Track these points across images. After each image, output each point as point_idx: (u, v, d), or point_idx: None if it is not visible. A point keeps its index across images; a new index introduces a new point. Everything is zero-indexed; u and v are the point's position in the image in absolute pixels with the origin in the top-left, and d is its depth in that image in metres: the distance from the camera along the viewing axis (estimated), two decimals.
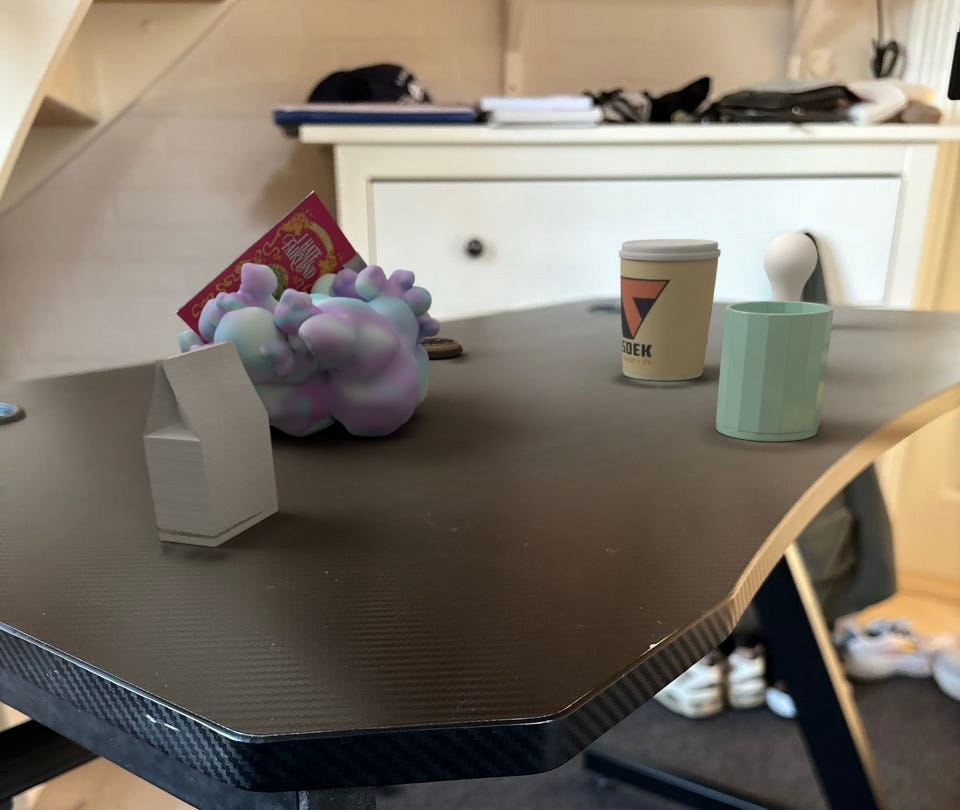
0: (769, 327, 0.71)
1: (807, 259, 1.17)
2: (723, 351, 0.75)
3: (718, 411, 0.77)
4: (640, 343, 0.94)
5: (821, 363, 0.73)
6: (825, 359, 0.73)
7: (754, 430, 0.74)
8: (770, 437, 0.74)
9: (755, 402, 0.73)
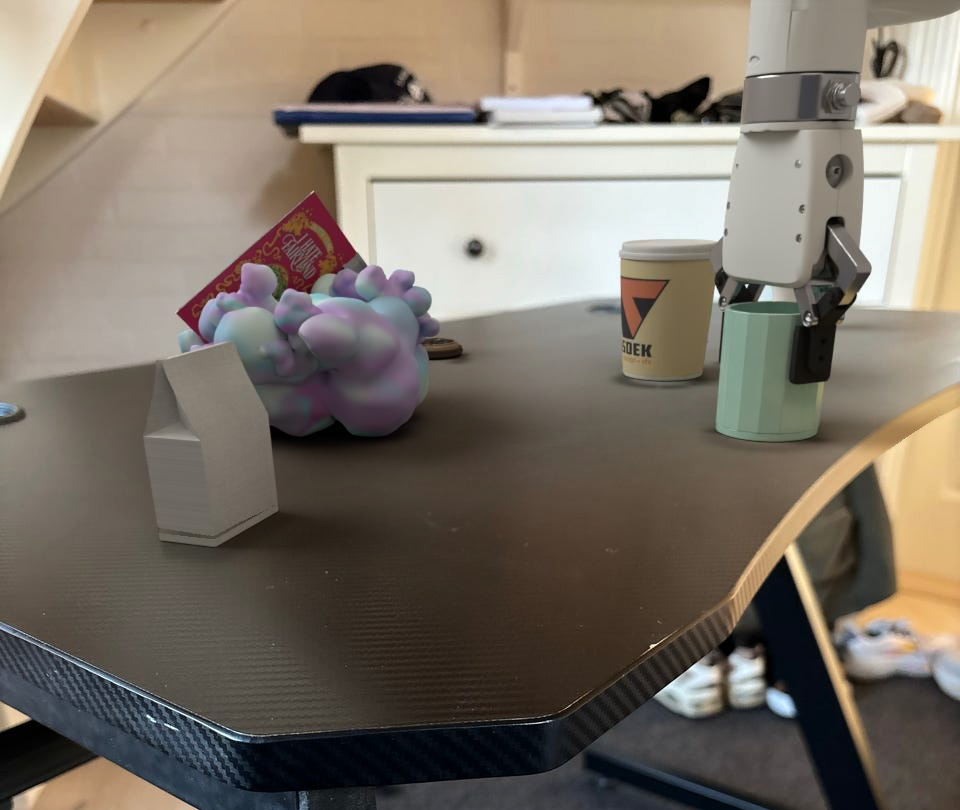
0: (769, 327, 0.71)
1: None
2: (723, 351, 0.75)
3: (718, 411, 0.77)
4: (640, 343, 0.94)
5: None
6: None
7: (754, 430, 0.74)
8: (770, 437, 0.74)
9: (755, 402, 0.73)
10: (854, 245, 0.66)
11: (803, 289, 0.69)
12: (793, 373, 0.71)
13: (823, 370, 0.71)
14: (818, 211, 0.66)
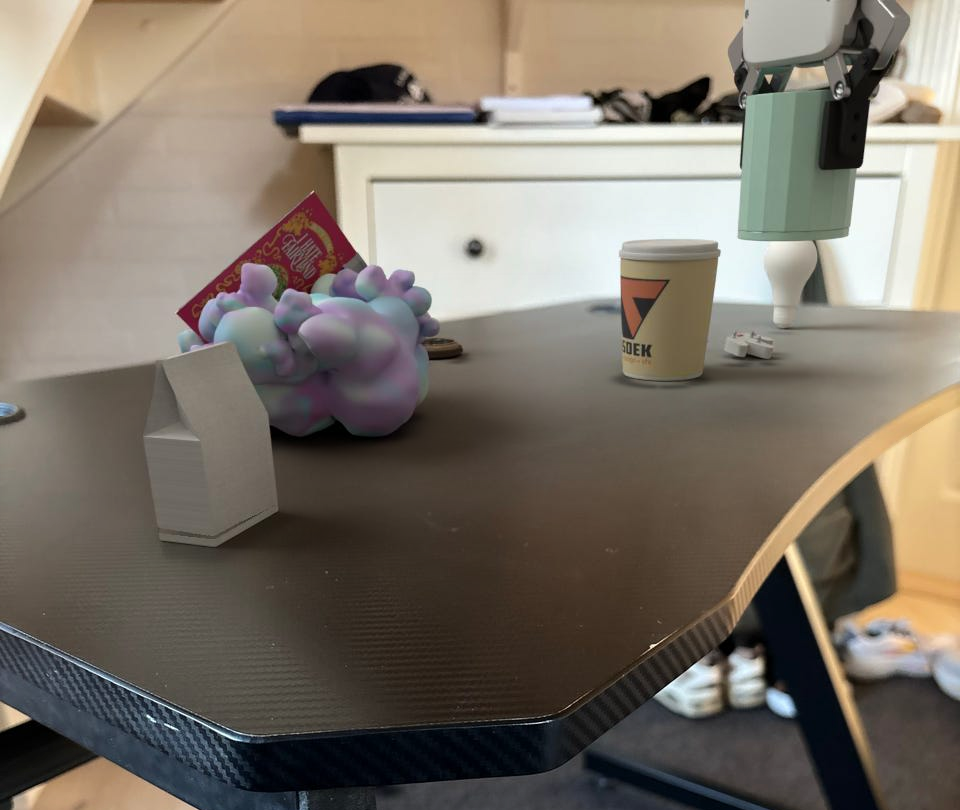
0: (796, 107, 0.65)
1: (807, 259, 1.17)
2: (745, 145, 0.69)
3: (740, 216, 0.71)
4: (640, 343, 0.94)
5: None
6: None
7: (780, 229, 0.68)
8: (798, 236, 0.68)
9: (781, 196, 0.67)
10: None
11: (834, 57, 0.63)
12: (823, 156, 0.65)
13: (856, 152, 0.65)
14: None
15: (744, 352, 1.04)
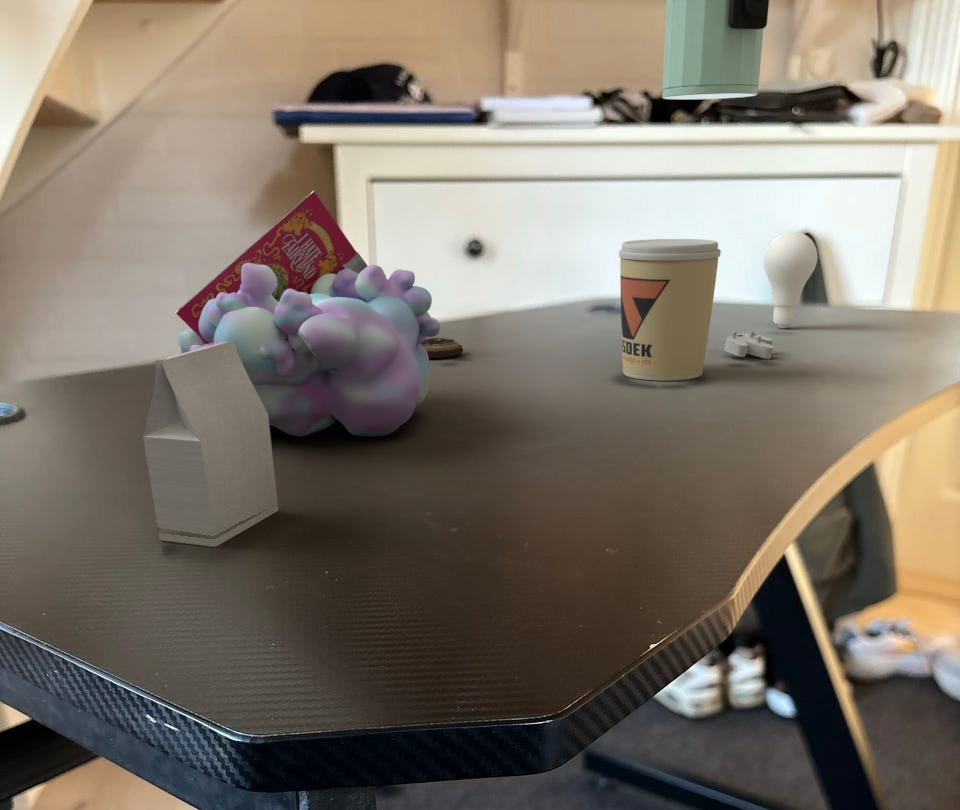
0: None
1: (807, 259, 1.17)
2: (667, 11, 0.79)
3: (664, 76, 0.81)
4: (640, 343, 0.94)
5: None
6: None
7: (696, 82, 0.78)
8: (712, 89, 0.78)
9: (696, 53, 0.78)
10: None
11: None
12: (732, 15, 0.75)
13: (760, 12, 0.75)
14: None
15: (744, 352, 1.04)
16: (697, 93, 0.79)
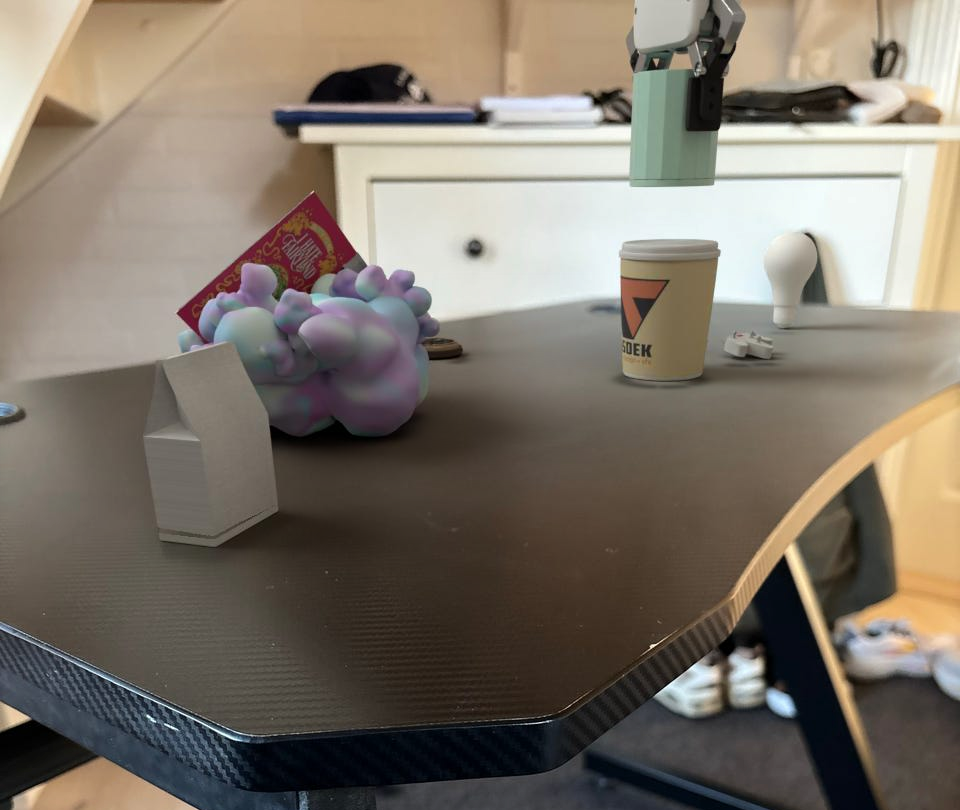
0: (667, 81, 0.85)
1: (807, 259, 1.17)
2: (633, 112, 0.89)
3: (630, 168, 0.91)
4: (640, 343, 0.94)
5: None
6: None
7: (658, 177, 0.88)
8: (671, 182, 0.88)
9: (658, 151, 0.87)
10: (732, 0, 0.80)
11: (694, 44, 0.83)
12: (688, 120, 0.85)
13: (713, 117, 0.85)
14: None
15: (744, 352, 1.04)
16: (658, 186, 0.88)
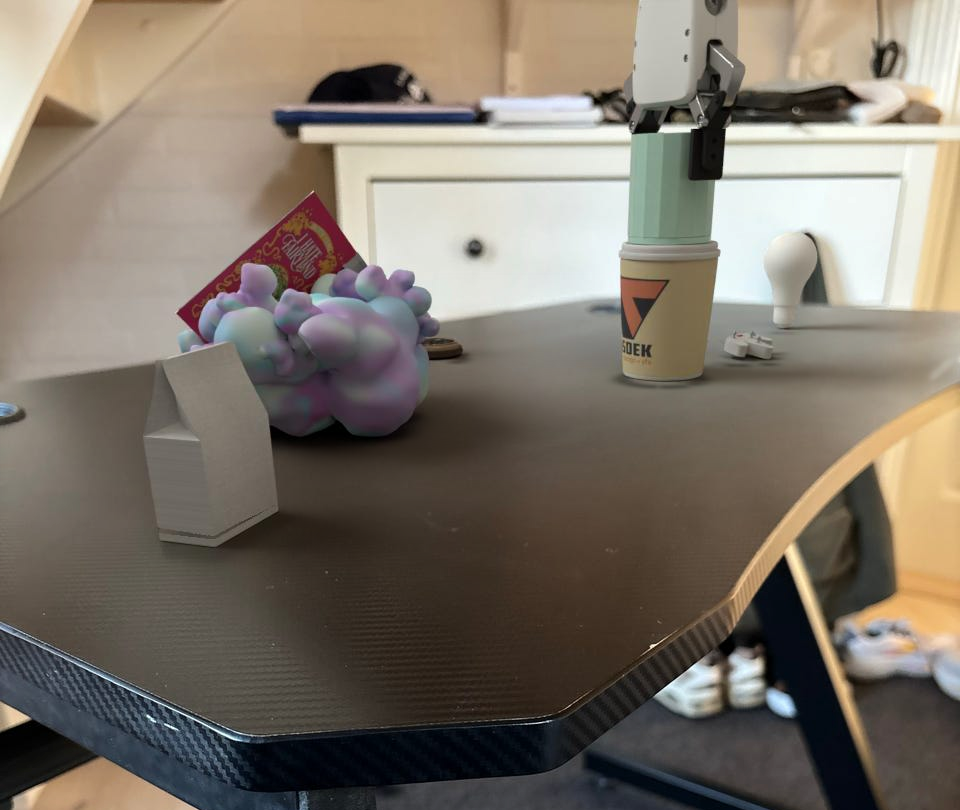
0: (664, 144, 0.87)
1: (807, 259, 1.17)
2: (631, 172, 0.91)
3: (628, 225, 0.93)
4: (640, 343, 0.94)
5: None
6: None
7: (655, 235, 0.90)
8: (668, 241, 0.90)
9: (655, 210, 0.89)
10: (730, 54, 0.82)
11: (694, 98, 0.84)
12: (690, 170, 0.86)
13: (715, 167, 0.86)
14: (700, 34, 0.82)
15: (744, 352, 1.04)
16: (656, 244, 0.90)
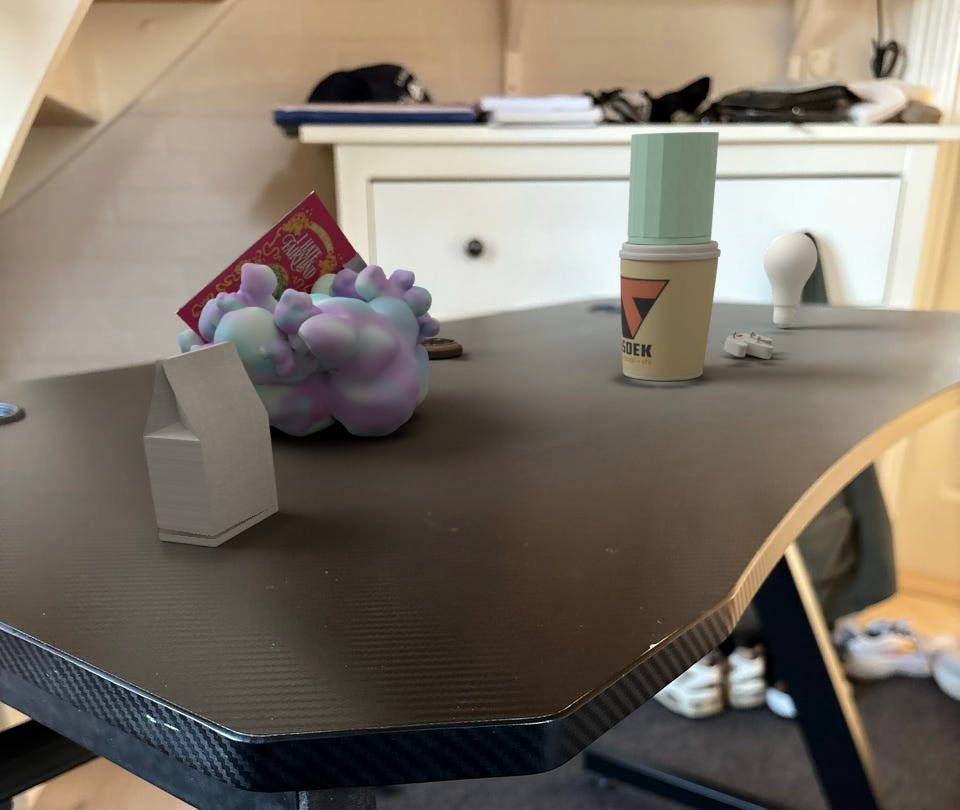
0: (664, 144, 0.87)
1: (807, 259, 1.17)
2: (631, 172, 0.91)
3: (628, 225, 0.93)
4: (640, 343, 0.94)
5: (709, 177, 0.89)
6: (713, 175, 0.89)
7: (655, 235, 0.90)
8: (669, 241, 0.90)
9: (655, 210, 0.89)
10: None
11: None
12: None
13: None
14: None
15: (744, 352, 1.04)
16: (656, 244, 0.90)
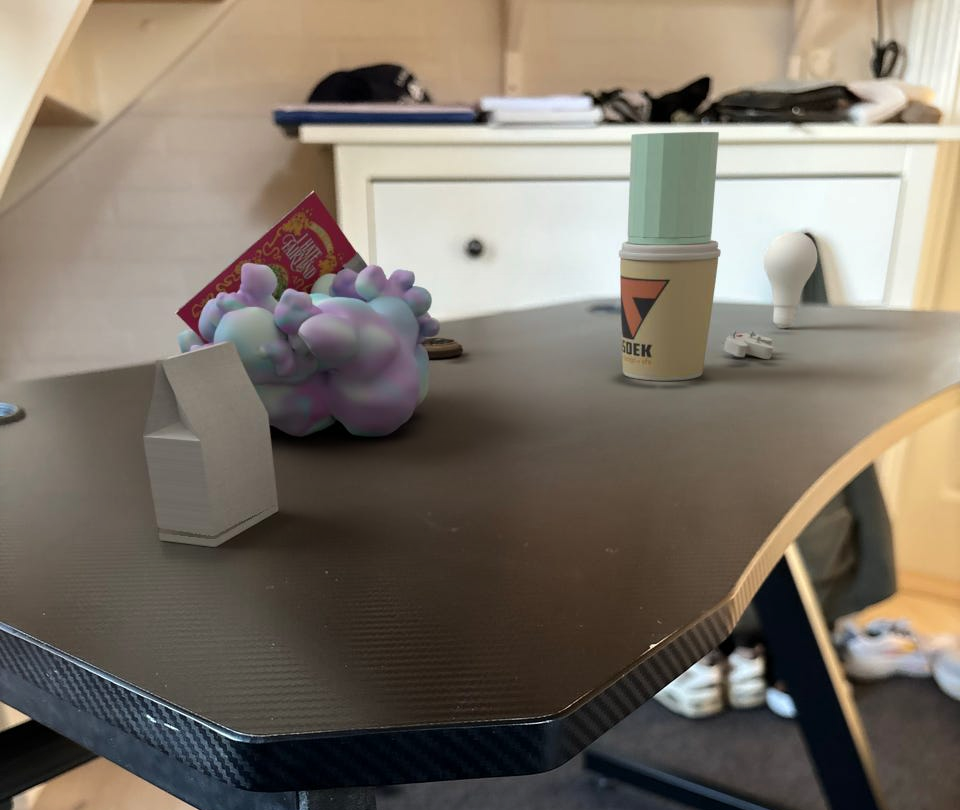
0: (664, 144, 0.87)
1: (807, 259, 1.17)
2: (631, 172, 0.91)
3: (628, 225, 0.93)
4: (640, 343, 0.94)
5: (709, 177, 0.89)
6: (713, 175, 0.89)
7: (655, 235, 0.90)
8: (669, 241, 0.90)
9: (655, 210, 0.89)
10: None
11: None
12: None
13: None
14: None
15: (744, 352, 1.04)
16: (656, 244, 0.90)
